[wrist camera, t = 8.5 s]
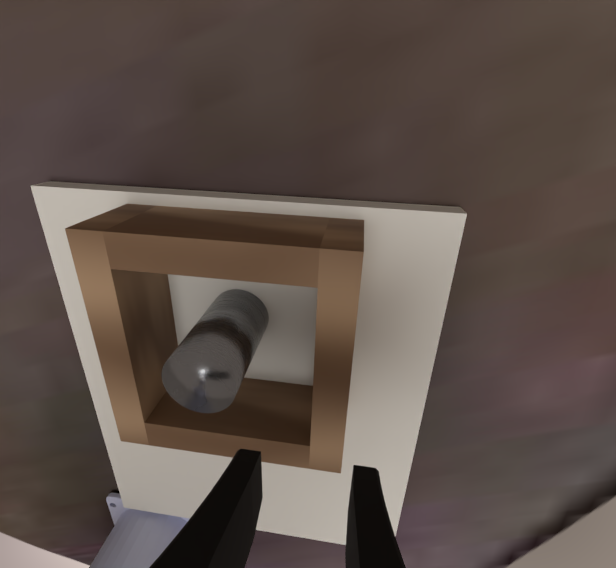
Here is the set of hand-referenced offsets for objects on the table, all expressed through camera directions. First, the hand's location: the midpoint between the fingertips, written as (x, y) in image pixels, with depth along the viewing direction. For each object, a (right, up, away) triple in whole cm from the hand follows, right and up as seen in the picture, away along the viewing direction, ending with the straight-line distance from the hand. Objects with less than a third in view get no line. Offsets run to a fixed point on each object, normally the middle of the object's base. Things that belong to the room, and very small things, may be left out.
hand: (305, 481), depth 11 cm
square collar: (-3, +4, +8) cm, 10 cm away
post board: (-3, -1, +12) cm, 12 cm away
